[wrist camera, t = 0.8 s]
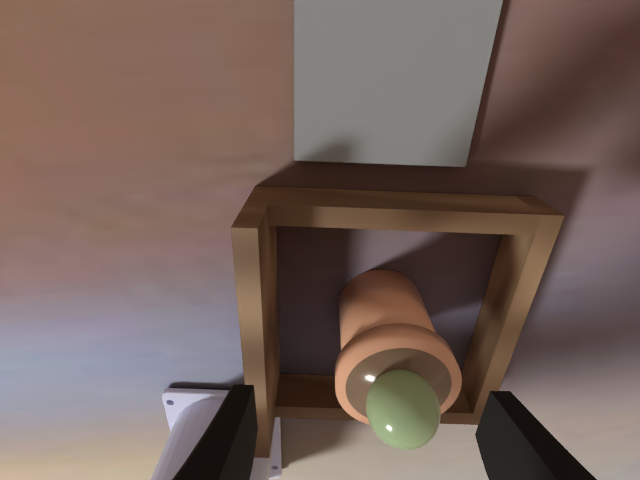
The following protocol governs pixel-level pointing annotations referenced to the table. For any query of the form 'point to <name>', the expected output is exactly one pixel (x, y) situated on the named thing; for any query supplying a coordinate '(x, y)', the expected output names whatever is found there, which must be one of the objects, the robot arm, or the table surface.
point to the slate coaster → (390, 79)
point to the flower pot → (393, 360)
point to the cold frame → (384, 214)
